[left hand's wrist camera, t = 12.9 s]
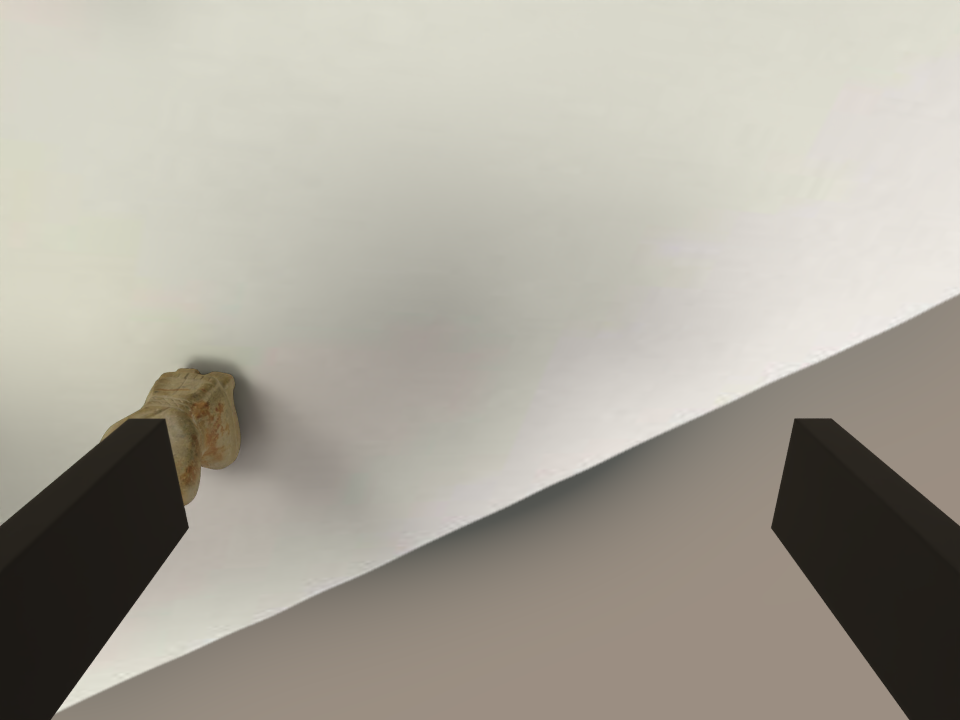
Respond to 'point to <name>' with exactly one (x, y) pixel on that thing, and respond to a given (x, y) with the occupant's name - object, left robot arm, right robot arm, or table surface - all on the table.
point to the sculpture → (194, 422)
